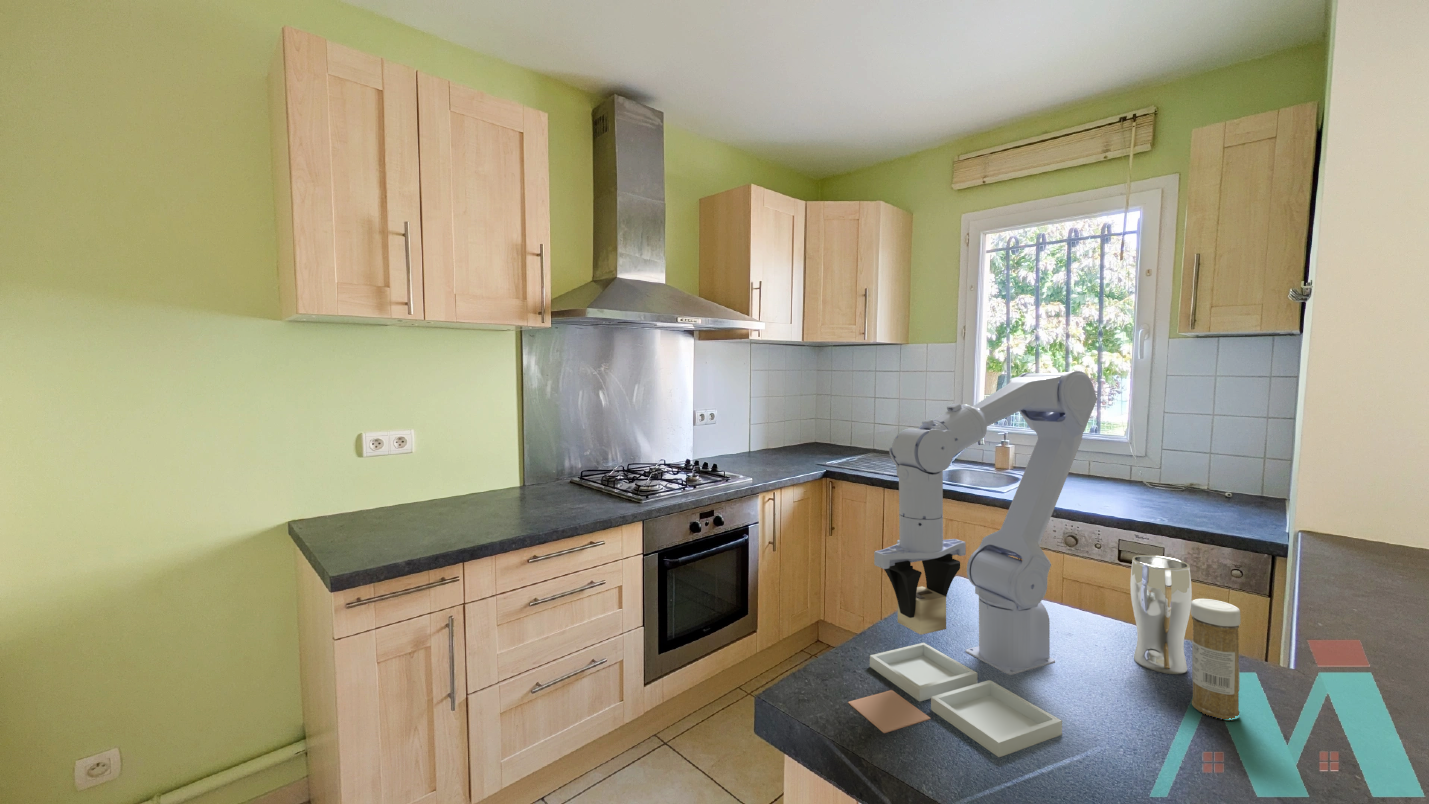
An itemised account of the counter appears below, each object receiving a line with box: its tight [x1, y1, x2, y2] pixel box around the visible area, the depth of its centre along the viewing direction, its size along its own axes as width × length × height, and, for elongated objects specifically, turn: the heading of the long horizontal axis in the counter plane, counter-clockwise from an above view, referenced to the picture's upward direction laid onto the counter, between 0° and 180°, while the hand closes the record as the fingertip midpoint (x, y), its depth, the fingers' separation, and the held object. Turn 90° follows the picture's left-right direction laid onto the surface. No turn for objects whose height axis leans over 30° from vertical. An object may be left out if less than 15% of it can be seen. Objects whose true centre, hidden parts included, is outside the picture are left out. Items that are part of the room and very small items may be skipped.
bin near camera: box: [930, 679, 1063, 758], centre depth 68 cm, size 10×10×2 cm
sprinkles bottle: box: [1190, 598, 1242, 720], centre depth 70 cm, size 5×5×14 cm
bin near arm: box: [869, 642, 979, 702], centre depth 79 cm, size 10×10×2 cm
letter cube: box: [897, 585, 947, 636], centre depth 79 cm, size 4×4×5 cm
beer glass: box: [1129, 554, 1193, 675], centre depth 82 cm, size 7×7×15 cm
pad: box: [847, 689, 932, 734], centre depth 71 cm, size 7×7×1 cm
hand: (921, 611), depth 79 cm, fingers closed on letter cube, 4 cm apart
